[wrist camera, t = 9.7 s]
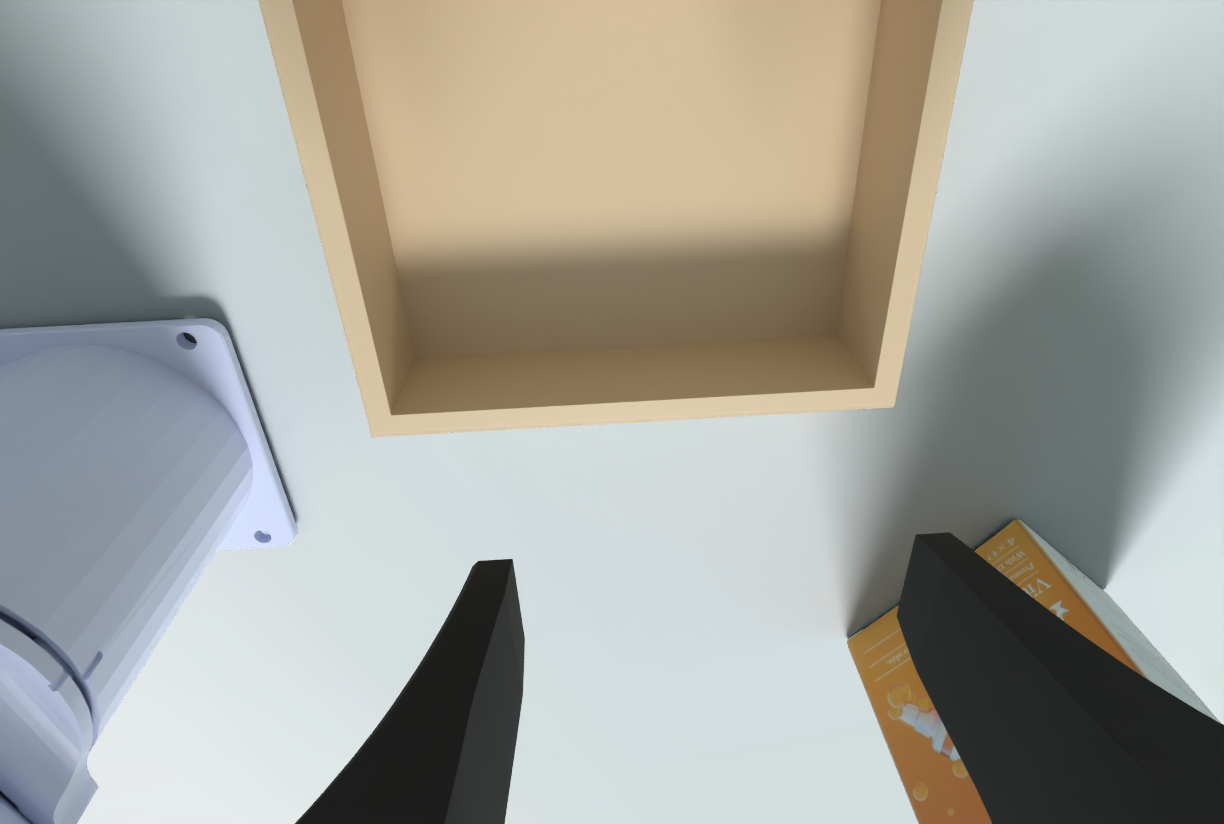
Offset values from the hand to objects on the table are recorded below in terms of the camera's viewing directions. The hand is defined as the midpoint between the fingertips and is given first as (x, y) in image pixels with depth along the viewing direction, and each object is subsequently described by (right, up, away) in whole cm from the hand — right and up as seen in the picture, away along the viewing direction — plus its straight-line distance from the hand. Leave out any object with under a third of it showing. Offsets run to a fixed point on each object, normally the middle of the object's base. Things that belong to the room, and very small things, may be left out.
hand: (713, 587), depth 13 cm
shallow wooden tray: (-2, +10, +5) cm, 11 cm away
